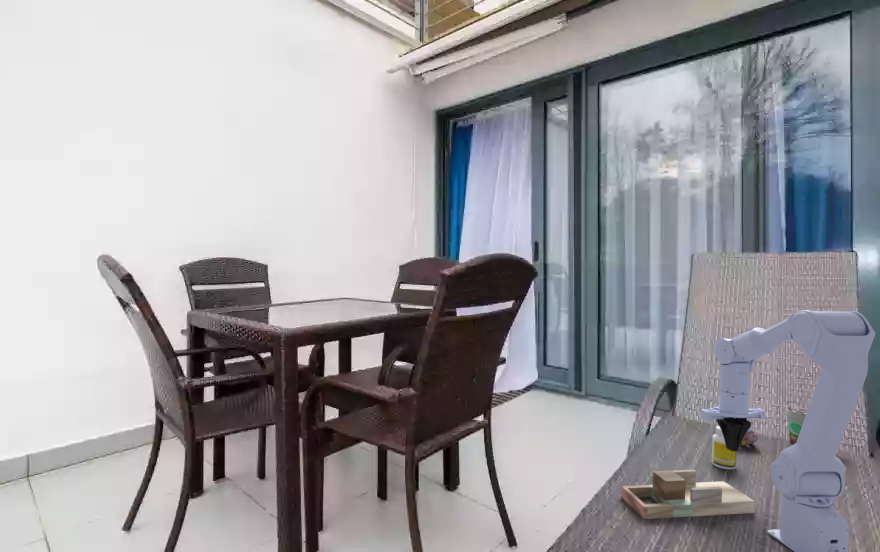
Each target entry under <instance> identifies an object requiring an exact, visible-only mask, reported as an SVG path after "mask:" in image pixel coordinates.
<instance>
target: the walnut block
mask: <svg viewBox="0 0 880 552" xmlns="http://www.w3.org/2000/svg"><path fill="white" fill-rule="evenodd" d="M673 471H674V470H655V471H654V470H653V471H652V485H653V486H652V489H653V490H654V491H655V492H656V493H657V494H659V495H660V496H661V497H662V498H663V499H664V500H677V499H685V486H686V480H685V479H683V478H682V477H680V476H679V475H678V474H676V473H675V472H673Z"/></svg>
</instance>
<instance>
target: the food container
mask: <svg viewBox="0 0 880 552" xmlns="http://www.w3.org/2000/svg"><path fill="white" fill-rule="evenodd" d="M806 413H807V411H806V412H805V411H799V410H796V409H791V406H790V405H788V406H787V407H786V409H785V412H784V415H785V416H786V417H787V422H788V435H789V436H788V437H789V443H790V444H791V446H792V445H794V444H795V443H796V442H797V439H798V436H799V434H800V431H801V428H802V425H803V422H804V419H805V416H806Z"/></svg>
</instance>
